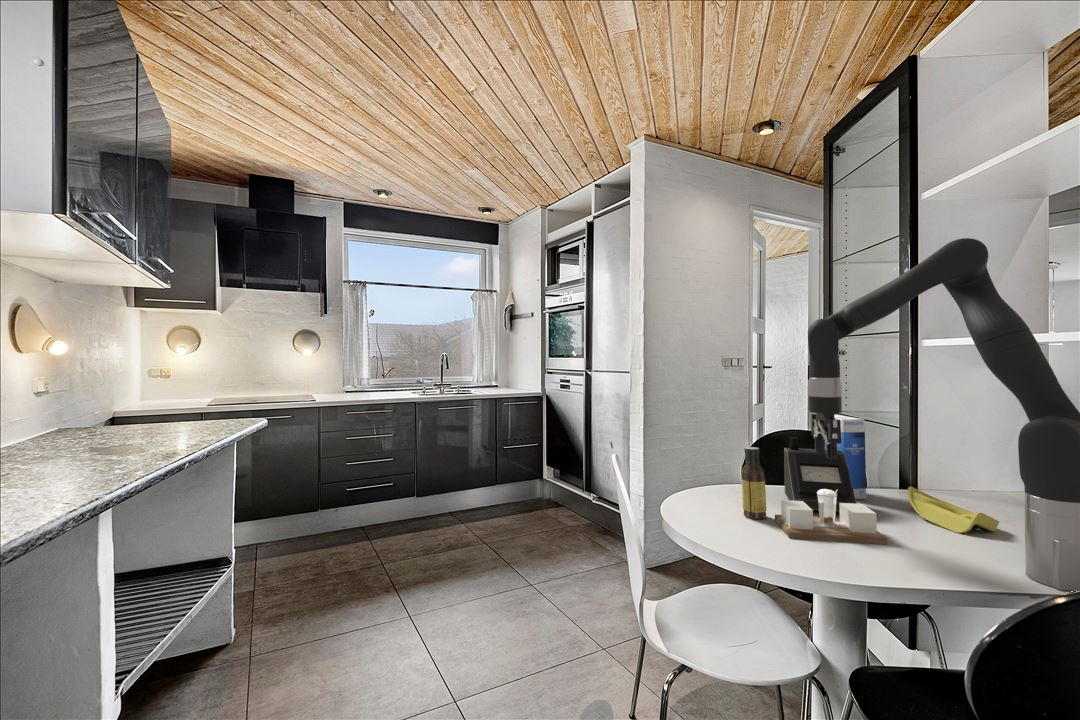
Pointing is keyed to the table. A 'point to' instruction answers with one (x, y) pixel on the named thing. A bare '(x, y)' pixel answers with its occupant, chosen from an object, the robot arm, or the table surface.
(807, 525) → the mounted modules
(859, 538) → the rail board
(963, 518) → the plastic component
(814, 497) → the voltmeter
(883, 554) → the table surface
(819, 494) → the milkshake
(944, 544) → the table surface
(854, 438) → the string lights box
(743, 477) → the sauce bottle
